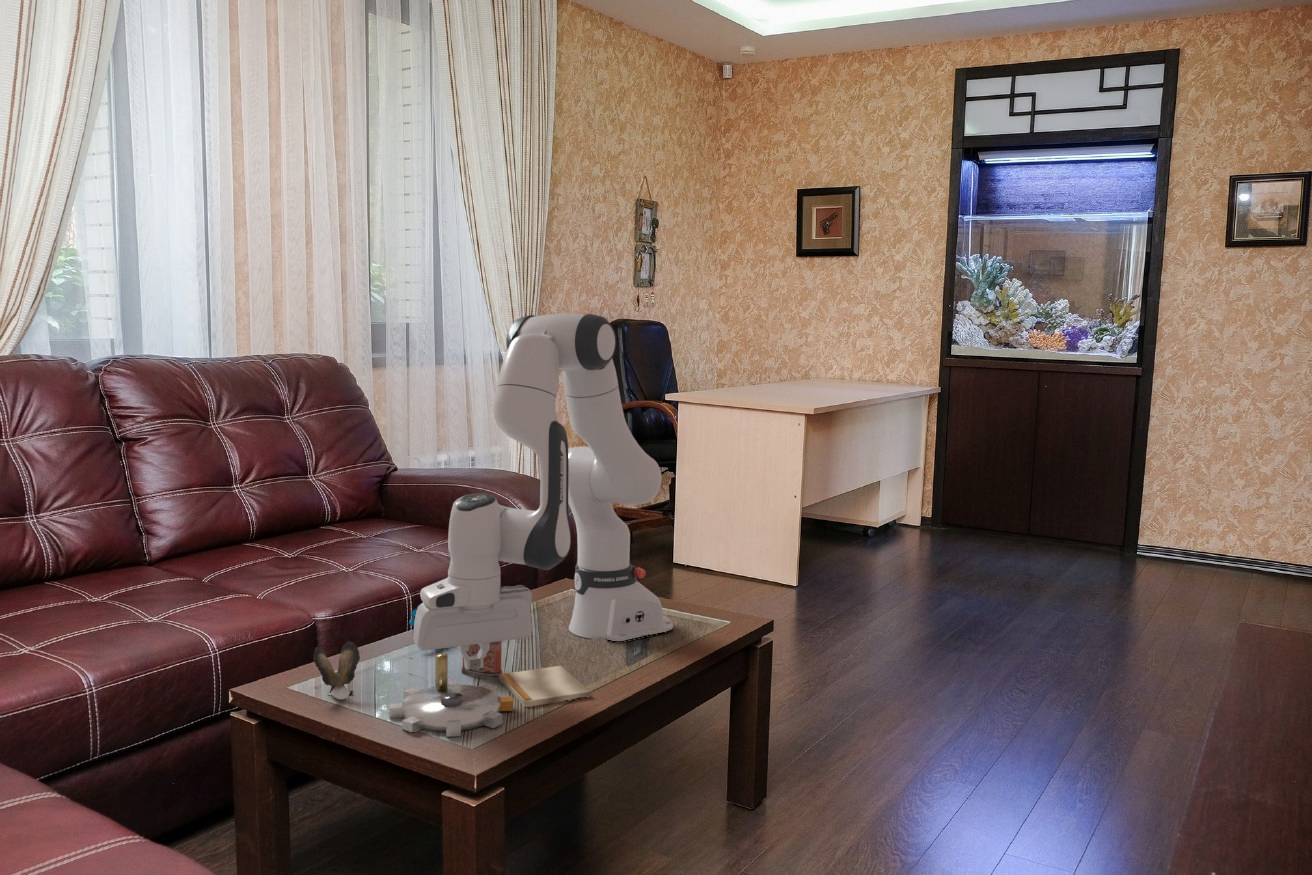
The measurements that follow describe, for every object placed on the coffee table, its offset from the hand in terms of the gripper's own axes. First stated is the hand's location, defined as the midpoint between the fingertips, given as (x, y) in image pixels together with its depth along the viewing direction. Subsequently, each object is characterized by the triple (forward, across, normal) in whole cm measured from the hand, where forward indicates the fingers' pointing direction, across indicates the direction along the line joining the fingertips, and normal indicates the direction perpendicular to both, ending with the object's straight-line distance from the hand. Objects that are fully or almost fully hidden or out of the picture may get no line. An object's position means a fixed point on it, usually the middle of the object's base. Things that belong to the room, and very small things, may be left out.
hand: (473, 667), depth 175 cm
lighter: (+5, -5, -10) cm, 12 cm away
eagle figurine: (+6, +21, -8) cm, 24 cm away
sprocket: (+5, +5, +6) cm, 10 cm away
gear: (+6, -2, -28) cm, 28 cm away
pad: (+5, -13, +1) cm, 14 cm away
